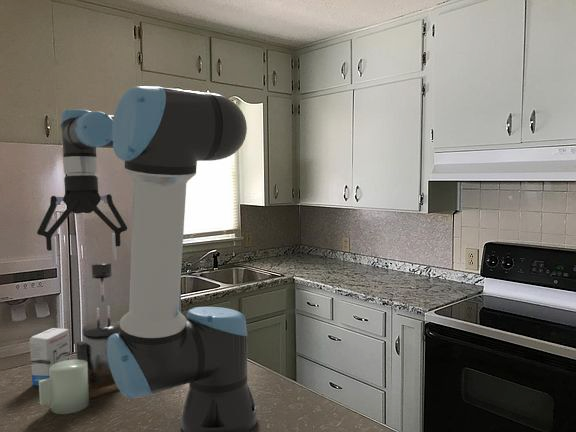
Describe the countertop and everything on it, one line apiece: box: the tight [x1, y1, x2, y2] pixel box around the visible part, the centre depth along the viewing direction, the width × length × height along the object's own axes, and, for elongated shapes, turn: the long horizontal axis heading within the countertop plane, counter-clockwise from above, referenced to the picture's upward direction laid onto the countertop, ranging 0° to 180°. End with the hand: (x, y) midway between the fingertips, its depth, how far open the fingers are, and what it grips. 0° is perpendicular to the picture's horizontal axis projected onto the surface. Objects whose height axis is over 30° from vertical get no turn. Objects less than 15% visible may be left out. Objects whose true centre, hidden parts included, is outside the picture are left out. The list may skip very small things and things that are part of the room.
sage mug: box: [38, 358, 90, 415], centre depth 106 cm, size 8×10×9 cm
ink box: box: [29, 327, 71, 387], centre depth 121 cm, size 9×5×12 cm, turn 168°
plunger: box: [91, 262, 113, 303], centre depth 118 cm, size 4×4×9 cm
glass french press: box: [76, 305, 120, 399], centre depth 119 cm, size 13×13×18 cm
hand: (85, 262), depth 120 cm, fingers open, 13 cm apart
